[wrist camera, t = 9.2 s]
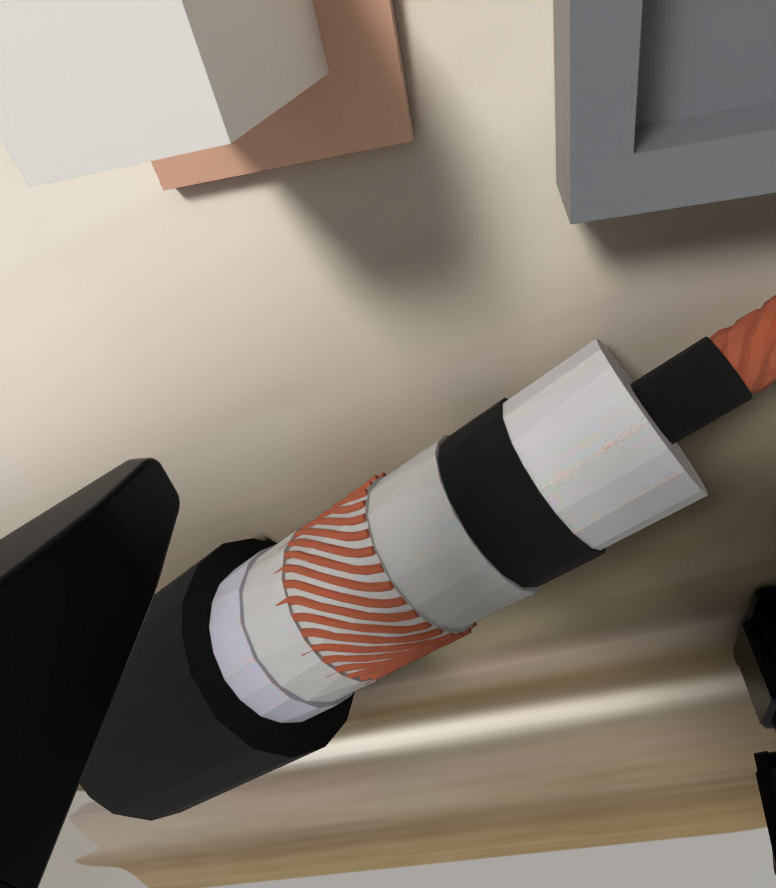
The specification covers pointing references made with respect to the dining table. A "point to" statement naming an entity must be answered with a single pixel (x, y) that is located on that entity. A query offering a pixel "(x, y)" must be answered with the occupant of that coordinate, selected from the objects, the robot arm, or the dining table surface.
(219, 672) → the cable
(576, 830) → the dining table surface
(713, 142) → the grey hollow box
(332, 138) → the coaster
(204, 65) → the white block
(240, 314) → the dining table surface
